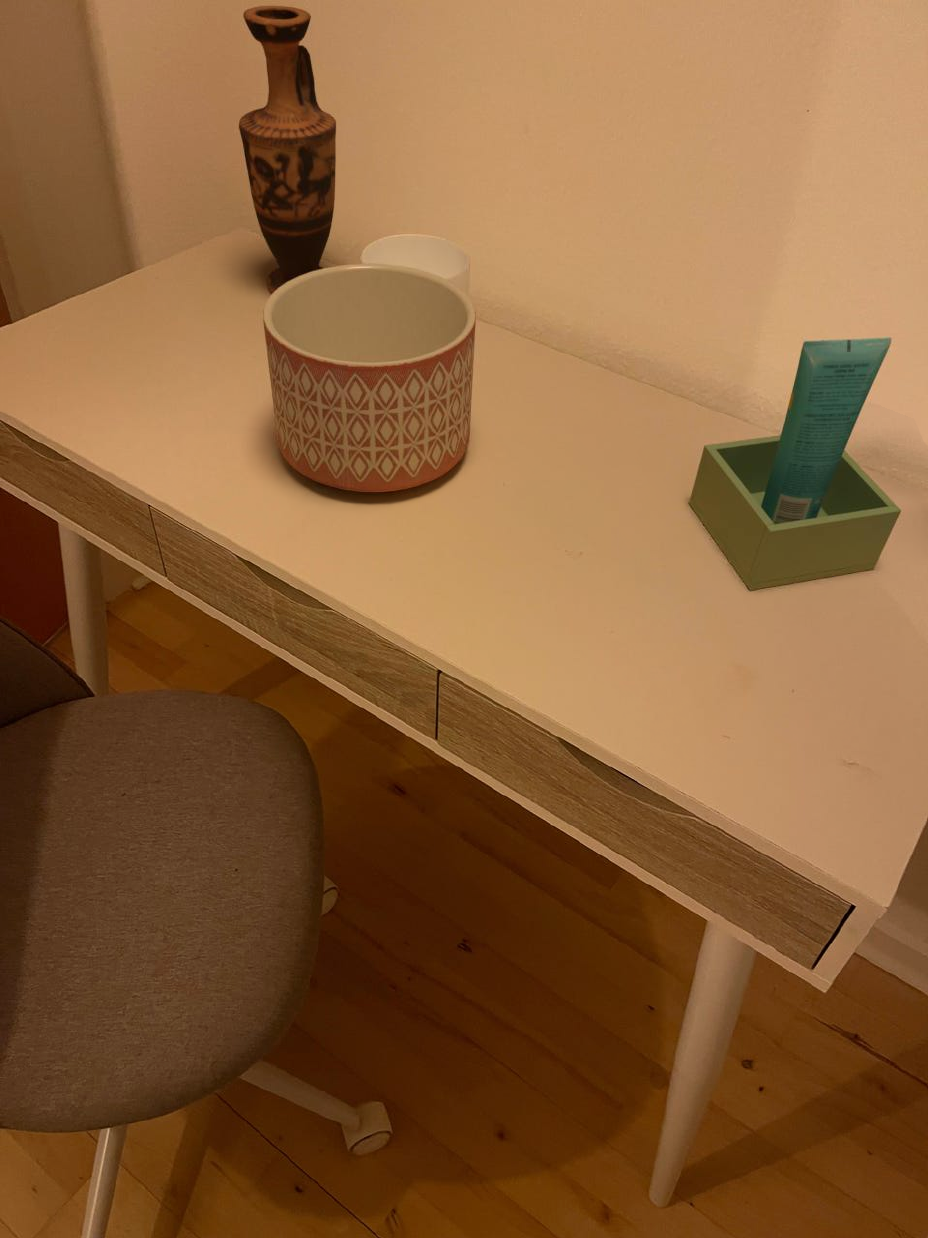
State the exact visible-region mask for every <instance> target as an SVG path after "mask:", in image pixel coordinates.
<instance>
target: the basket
mask: <svg viewBox="0 0 928 1238" xmlns="http://www.w3.org/2000/svg"><path fill="white" fill-rule="evenodd" d="M780 437H781V434H779V435H771V436H764V437H755V438H749V439H743V440H742V439H741V440H735V441H728V442H719V443H713V444H712V443H711V444H705V445H704V446H703V450H702V453H701V457H700V460H699V464H698V468H697V472H696V475H695V478H694V483H693V487H692V491H691V495H690V498H689V501H688V504H689V506H690V508H691V509H692V510H693V512H694V513H695V515H696V516H697V517H698V519H699V520H700V521H701V523H702V525H703V526H704V528H705V529H706V530H707V531H708V533H709V535H710V536H711V537H712V538H713V540H714V541H715V543H716V544H717V546H718V547H719V549H720V550H721V552H722V553H723V555H724V556H725V557H726V559H727V560H728V562H729V563H730V564H731V566H732V567H733V569H734V570H735V571H736V573H737V574H738V576H739V577H740V579H741V580H742V582H743V583H744V584H745V586H746V588H747V589H748V590H749V591H756V590H761V589H766V588H772V587H778V586H785V585H789V584H797V583H802V582H807V581H812V580H819V579H823V578H830V577H835V576H841V575H847V574H853V573H860V572H864V571H865V572H866V571H870V570H871V571H872V570H874V569H875V568H876V566H877V564H878V561H879V559H880V557H881V555H882V553H883V550H884V548H885V547H886V544H887V542H888V540H889V538H890V536H891V533H892V532H893V529H894V527H895V525H896V523H897V521H898V518H899V516H900V514H901V513H902V510H901V509H900V507H899V506H898V505H897V504H896V503H895V502H894V501H893V500H892V498H890V497H889V496H888V495H887V493H885V491H884V490H883V489H882V488H881V487H880V486H879V485H878V484H877V483H876V482H875V481H874V480H873V479H872V478H871V477H870V476H869V474H868V473H866V471H865V470H864V469H863V468H862V467H861V466H860V465H859V464H858V462H857V461H855V460H854V458H852V456H851V455H850V454H849V453H848V452H847V451H846V450H845V449H844V452H843V454H842V457H841V459H840V461H839V464H838V466H837V469H836V471H835V473H834V476H833V478H832V481H831V483H830V486H829V488H828V490H827V493H826V495H825V498H824V500H823V503H822V505H821V508H820V510H819V513H818V515H817V518H812V519H806V520H799V521H793V522H787V523H780V524H774V523H773V522H772V520H771V519H770V518H769V517H768V515H767V514H766V513H765V511H764V510H763V509H762V508H761V505H762V501H763V498H764V495H765V491H766V488H767V484H768V481H769V477H770V474H771V470H772V466H773V463H774V459H775V455H776V452H777V448H778V444H779V441H780Z"/></svg>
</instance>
